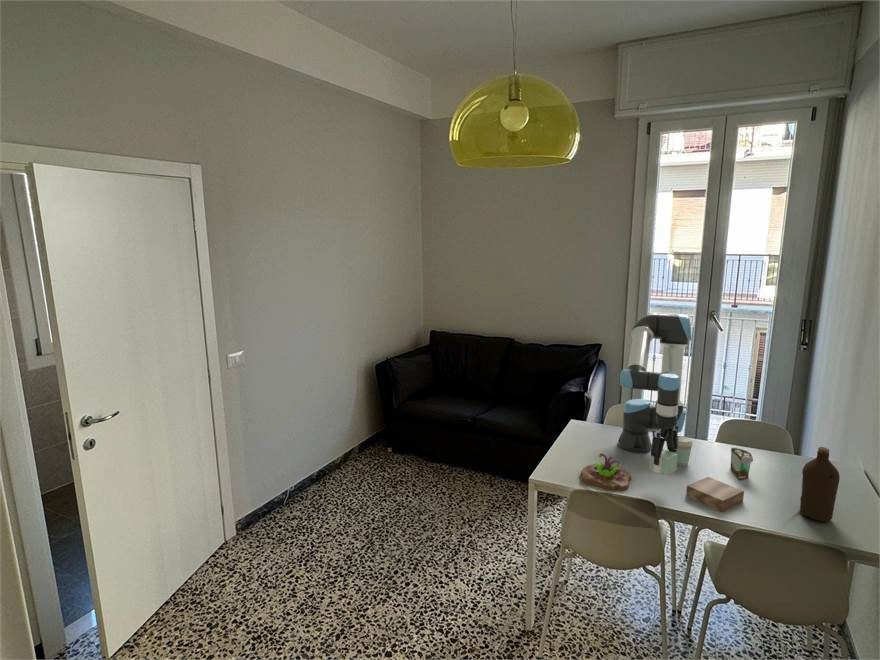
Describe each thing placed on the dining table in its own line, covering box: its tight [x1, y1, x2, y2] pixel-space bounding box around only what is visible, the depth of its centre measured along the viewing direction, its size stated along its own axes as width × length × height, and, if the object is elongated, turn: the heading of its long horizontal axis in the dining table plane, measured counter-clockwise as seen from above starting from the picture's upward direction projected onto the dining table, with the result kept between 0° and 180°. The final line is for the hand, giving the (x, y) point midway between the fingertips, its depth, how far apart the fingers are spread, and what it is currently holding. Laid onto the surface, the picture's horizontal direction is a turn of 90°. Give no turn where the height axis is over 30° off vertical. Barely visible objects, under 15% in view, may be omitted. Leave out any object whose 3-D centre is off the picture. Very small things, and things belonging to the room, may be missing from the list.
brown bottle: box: [799, 446, 840, 522], centre depth 179 cm, size 11×11×25 cm
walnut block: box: [685, 476, 745, 513], centre depth 192 cm, size 14×14×5 cm
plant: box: [580, 453, 632, 492], centre depth 209 cm, size 20×20×11 cm
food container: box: [730, 447, 754, 481], centre depth 211 cm, size 12×6×10 cm, turn 168°
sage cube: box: [649, 448, 678, 477], centre depth 197 cm, size 7×7×7 cm
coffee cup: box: [674, 435, 694, 467], centre depth 222 cm, size 8×8×12 cm
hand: (662, 469), depth 197 cm, fingers closed on sage cube, 7 cm apart
